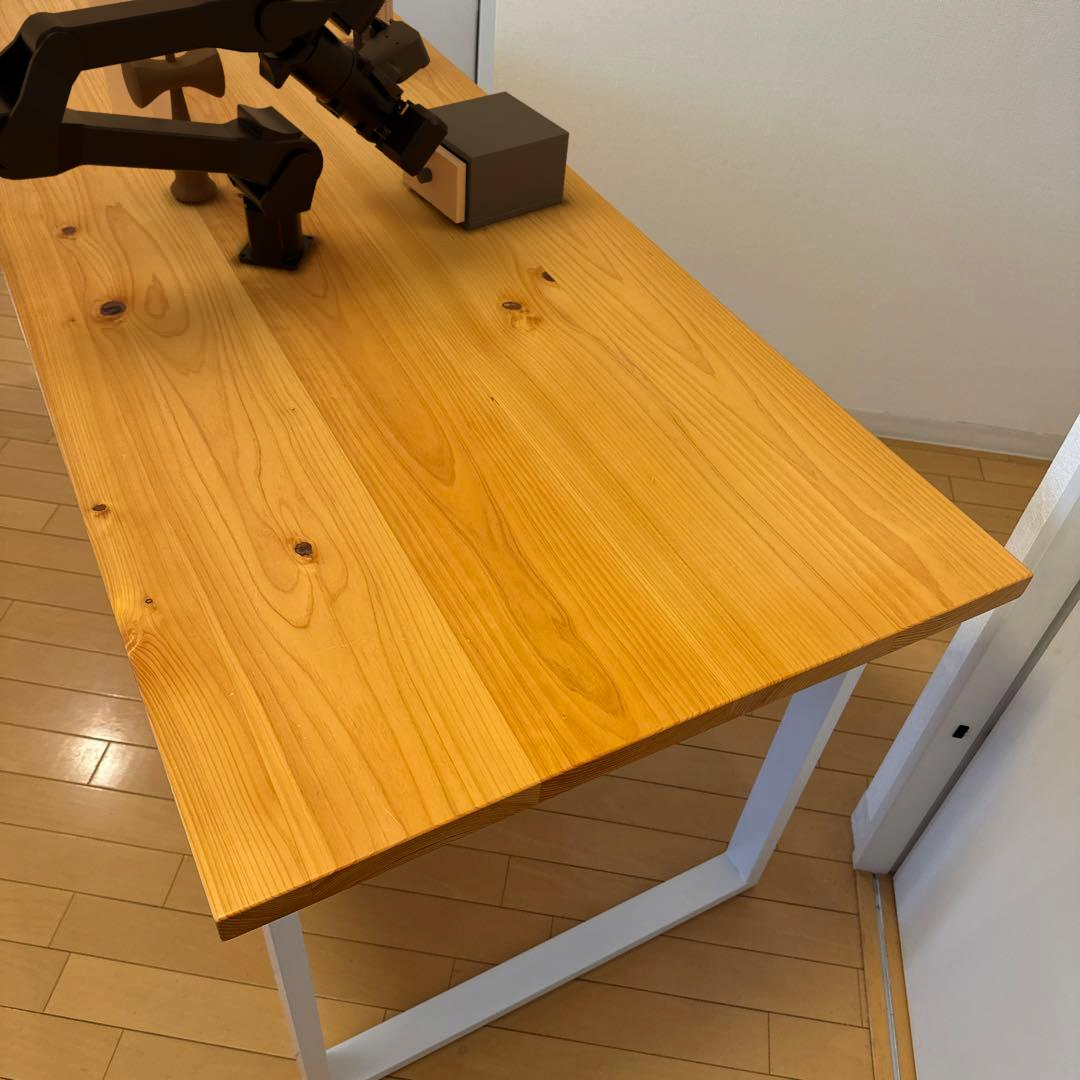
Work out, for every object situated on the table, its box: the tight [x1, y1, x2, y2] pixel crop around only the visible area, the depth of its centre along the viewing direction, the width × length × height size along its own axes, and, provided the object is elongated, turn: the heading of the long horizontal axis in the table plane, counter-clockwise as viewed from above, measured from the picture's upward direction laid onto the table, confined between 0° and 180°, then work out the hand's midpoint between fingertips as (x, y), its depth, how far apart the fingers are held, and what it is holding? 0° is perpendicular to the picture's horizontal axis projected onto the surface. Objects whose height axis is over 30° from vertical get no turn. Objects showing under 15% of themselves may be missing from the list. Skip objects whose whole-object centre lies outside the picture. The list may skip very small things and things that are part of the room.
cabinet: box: [427, 91, 570, 231], centre depth 119 cm, size 14×13×9 cm
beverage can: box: [352, 0, 394, 52], centre depth 141 cm, size 6×6×12 cm
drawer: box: [402, 143, 468, 224], centre depth 117 cm, size 14×11×7 cm
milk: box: [87, 0, 178, 119], centre depth 115 cm, size 6×6×22 cm
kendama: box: [121, 48, 227, 203], centre depth 109 cm, size 6×10×20 cm, turn 124°
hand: (426, 154), depth 113 cm, fingers closed, pressing on drawer
